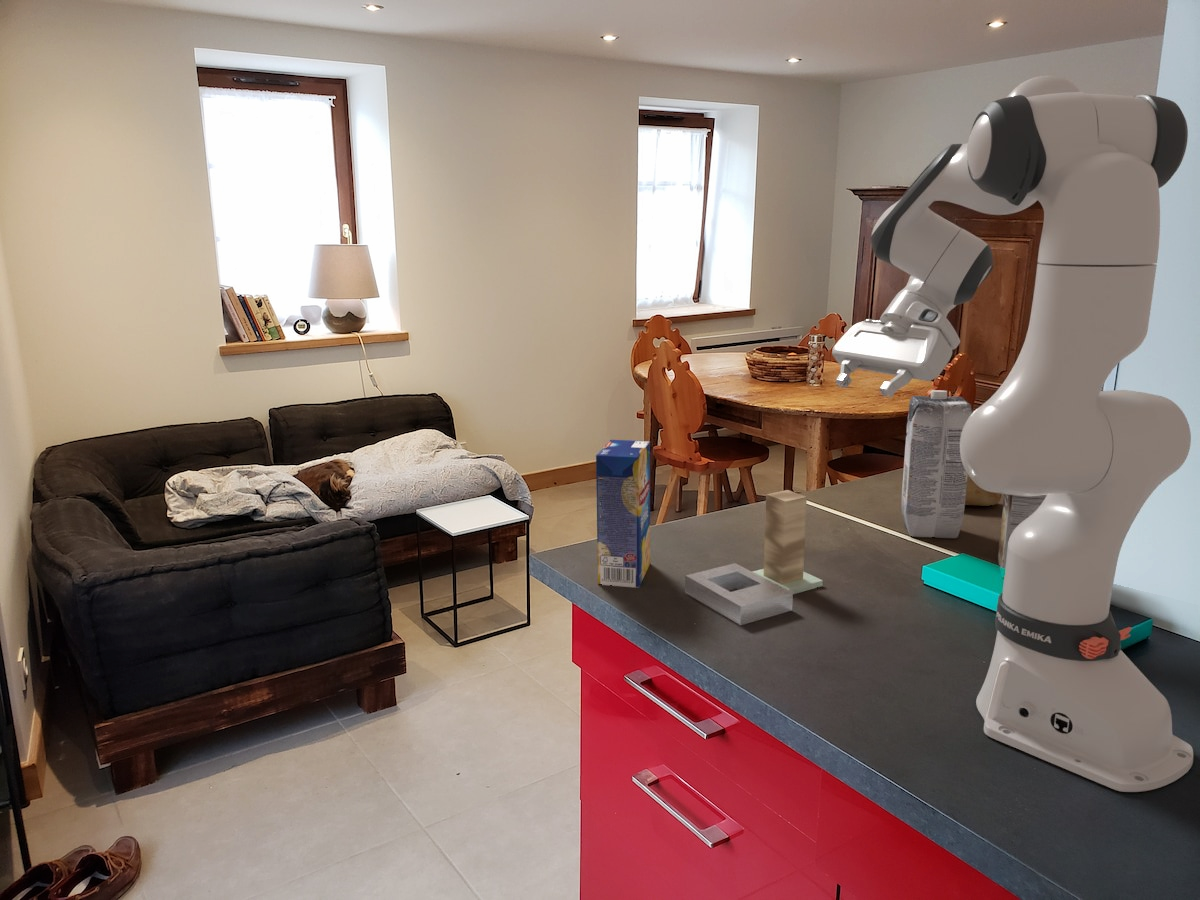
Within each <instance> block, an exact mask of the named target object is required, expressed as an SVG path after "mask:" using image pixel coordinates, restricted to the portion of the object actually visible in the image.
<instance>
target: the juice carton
mask: <svg viewBox="0 0 1200 900" xmlns="http://www.w3.org/2000/svg"><path fill="white" fill-rule="evenodd" d="M972 413H973V405H972V404H971V403H970V402H968V401H967V400H965V399H964V398H963V397H962V396H958V395H957V396H948V390H940V389H939V390H936V389H933V390H930V396H922V395H912V396H911V397H910V399H909V405H908V414H907V420H906V434H905V446H904V461H903V472H902V473H903V474H902V485H901V486H902V487H901V500H900V502H901V503H900V504H901V507H900V509H901V510H900V511H901V516H902V521H903V524H904V527H905V528H907V529H906V530H907V532H908V535H909V537H911V536H912V538H932V537H935V539H937V538H938V539H958V537H959V534H960V531H961V528H962V525H963V521H964V517H965V516H964V515H965V507H966V505H965V498H966V487H967V476H968V474H967V472H966V470H965V468H964V466H963V463H962V460H961V455H960V437H961V433H962V430H963V427H964V425H965V423H966V421H967V419H968V418H969V416H970V415H971V414H972Z"/></svg>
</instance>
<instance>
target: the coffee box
mask: <svg viewBox="0 0 1200 900" xmlns="http://www.w3.org/2000/svg"><path fill="white" fill-rule="evenodd" d="M1046 496H1047V495H1041V496H1031V497H1025V496H1016V495H1007V494H1003V503H1002V504H1003V505H1002V512H1001V513H1002V514H1001V523H1000V532H999V544H998V553H997V561H998V566H999V565H1000V567H1002V568H1005V566H1006V556H1007V547H1008V541H1009V538H1010V535H1011V534H1012V532H1013V530H1014V529H1015V528H1016V527H1017V526H1018V525H1019V524H1020V523H1021V522H1022V521H1024V520H1025V519H1026V518H1028V517H1029V516H1030V515H1032V514H1033V513H1034V512H1035V511H1036V510H1037V509H1038V507H1039V506H1040V505H1041V504H1042V502H1043V501H1044V499H1045V497H1046ZM1000 567H999V568H1000Z"/></svg>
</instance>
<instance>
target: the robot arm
mask: <svg viewBox="0 0 1200 900" xmlns="http://www.w3.org/2000/svg"><path fill="white" fill-rule="evenodd" d="M1187 122H1188V121H1187V119H1186V117H1185V115H1184V112H1183V111H1182V110H1181V108H1180V106H1179V105H1178V104H1177V103H1176V102H1175V101H1173V100H1170V99H1167V98H1164V97H1161V96H1158V95H1151V94H1142V93H1141V94H1135V95H1133V96H1132V95H1124V94H1122V95H1121V94H1112V93H1111V94H1110V93H1087V92H1084V91H1081V89H1080V88H1079V87H1077V85H1076V84H1074V83H1073V82H1071V81H1069V80H1068V79H1065V78H1064V77H1060V76H1055V75H1039V76H1035V77H1034V76H1033V77H1032V78H1029V79H1027V80H1024V81H1023V82H1020V83H1019V85H1017V86H1016V87H1015V88H1013V90H1012V91H1011V92H1009V94H1008V95H1007V96H1006V97H1003V98H999V99H996V100H994V101H991V102H989V103H987V104H986V105H985V106H984V107H983V109H982V110H981V111H980V112H979V113H978V114H977V116H976V118H975V120H974V121H973V124H972V127H971V131H970V133H969V137H968V141H967V142H966V143H952V144H950V145H948V146H947V147H945V148H944V149H943V150H942V151H940V152H939V154H937V156H935V157H934V159H933V160H932V161H931V162H930V163H929V164H928V165H926V167H925V168H924V169H923V171H921V173H920V174H919V175H918V176H917V177H916V179H915V180H914V181H913V182H912V183H911V185H910V186H909V187H908V188H907V189H906V190H905V192H904V193H903V195H901V197H900V198H899V199H898V200H897V201H896V202H895V203H893V204H892V205H890V206H889V207H888V208H887V209H885V211H884V212H883V213H882V214H881V216H879V218H878V220H877V221H876V223H875V225H874V227H873V228H872V231H871V235H870V238H869V239H870V243H871V248H872V251H873V254H874V256H875V258H876V259H879V260H881V261H882V262H885V263H887V264H889V265H891V266H893V267H896V268H898V269H900V270H901V271H903V272H905V273H907V274H908V275H909V277H908V281H907V283H906V285H905V286H904V287H903V288H902V289H901V290H900V291H898V293H896V295H895V296H894V297H893V299H892V300H891V302H890V303H889V305H888V306H887V307H886V309H885V310H884V311H883V312H882V314H881V316H880V318H879V319H872V318H865V319H864V320H863V321H862V320H861V321H859V322H857V323H855V324H852V326H851V327H850V328H849V329H848V330H847V331H845V333H844V334H843V335H842V336H841V337H840V338H839V340H837V342H836V343H835V344H834V345H833V347H832V349H831V350H832V352H831V355H832V357H833V358H834V359H835V360H836V362H837V363H838V364H839V366H840V371H839V374H838V376H837V378H836V379H835V384H836V385H837V386H838V387H840V388H844V389H847V388H848V387H849V385H851V383H852V382H853V380H852V379H851V377H850V376H851V373H854V372H855V371H856V370H862V371H863V370H864V371H868V372H873V373H874V372H875V373H880V374H885V375H890V376H891V375H892V376H894V377H893V378H891V379H890V380H889V381H884V382H883V383H882V385H881V386H880V387H879V389H878V390H879V393H880V394H881V396H883V397H887V398H892V397H893V396H894V394H895V393H896V392H897V391H898V390H899V389H901V388H903V387H905V386H906V385H908V384H909V383H910V382H911V381H912V380H913V379H914V380H918V381H924V382H930V381H933V380H935V379H936V378H938V377H939V376H940V374H941V373H942V372H943V370H944V369H945V368H946V366H947V365H948V363H949V362H950V359H951V357H952V355H953V350H955V349H956V348H958V347H959V345H960V343H961V339H960V337H959V335H958V333H957V331H956V329H955V328H954V326H953V325H952V323H951V322H950V320H948V318H947V317H948V314H949V313H950V312H951V310H953V309H954V308H955V307H956V306H958V305H961V304H965V303H968V302H971V300H972V299H973V298H974V296H975V294H976V292H977V290H978V288H979V287H980V286H981V285H982V284H983V283H984V282H985V280H986V279H987V278H988V276H989V275H990V274H991V272H992V270H993V268H994V256H993V251H992V248H991V245H990V244H988V243H987V242H986V241H984V240H983V239H981V238H980V237H979V236H976V235H974V234H973V233H972V232H970V231H968V230H966V229H964V228H963V227H960V226H958V225H956V224H955V223H953V222H952V221H949V220H947V219H946V218H944V217H943V216H941V215H939V214H938V213H936V212H934V211H933V210H931V209H930V208H929V207H930V206H931V205H932V204H933V203H934V202H937V201H939V202H940V201H941V202H947V203H952V204H954V205H955V204H956V205H958V206H960V207H961V206H962V207H964V208H966V209H970V210H973V211H976V212H978V213H981V214H985V215H986V214H987V215H991V216H992V215H994V216H1002V215H1004V216H1005V215H1011V214H1015V213H1018V212H1021V211H1023V210H1025V209H1027V208H1029V207H1031V206H1032V205H1034V204H1035V203H1036V202H1037V201H1038V202H1039V203H1040V205H1041V206H1042V209H1043V225H1042V229H1041V235H1040V240H1039V241H1040V242H1039V247H1038V255H1037V264H1036V271H1035V272H1036V274H1035V281H1034V288H1033V298H1032V304H1031V309H1030V311H1031V312H1030V317H1029V323H1028V329H1027V331H1026V335H1025V339H1024V342H1023V345H1022V347H1021V350H1020V352H1019V355H1018V357H1017V359H1016V361H1015V363H1014V365H1013V366H1012V368H1011V370H1010V371H1009V373H1008V375H1007V377H1006V378H1005V379H1004V381H1003V382H1002V384H1001V385H1000V387H998V389H997V390H996V391H995V392H994V393H993V394H992V395H991V397H990V398H989V399H987V400H986V401H985V402H984V403H983V404H981V405H980V406H979V407H978V408H976V409H975V410H974V411H972V414H971V415H970V416H969V418H968V419H967V421H966V423H965V425H964V427H963V430H962V433H961V437H960V455H961V460H962V463H963V466H964V468H965V470H966V472H967V474H968V475H969V477H970V478H971V479H972V480H973V482H974V483H975V484H976V485H977V486H979V487H980V488H982V489H983V490H986V491H989V492H994V493H1001V494H1002V495H1004V494H1007V495H1016V496H1025V497H1031V496H1041V495H1047V496H1046V497H1045V499H1044V501H1043V502H1042V504H1041V505H1040V506H1039V507H1038V509H1037V510H1036V511H1035V512H1034V513H1033V514H1032V515H1030V516H1029V517H1028V518H1026V519H1025V520H1024V521H1022V522H1021V523H1020V524H1019V525H1018V526H1017V527H1016V528H1015V529H1014V530H1013V532H1012V534H1011V535H1010V538H1009V541H1008V547H1007V556H1006V566H1005V575H1004V578H1003V586H1002V592H1001V593H1000V594H999V595H998V598H997V605H996V606H997V607H996V612H995V620H994V625H995V631H996V632H995V633H996V636H995V637H996V638H995V641H994V642H995V644H994V648H993V652H992V657H991V659H990V660H991V661H990V663H989V667H988V670H987V673H986V677H985V679H984V682H983V684H982V686H981V688H980V691H978V695H977V697H976V699H975V700H976V701H975V703H976V704H975V706H976V708H977V710H978V712H979V714H980V715H981V717H982V719H983V721H984V722H983V733H984V734H985V735H986V736H987V737H989V738H991V739H994V740H995V741H998V742H1000V743H1003V744H1005V745H1008V746H1009V747H1013V748H1014V749H1015V748H1016V749H1018V750H1020V751H1022V752H1024V753H1026V754H1029V755H1031V756H1034V757H1036V758H1038V759H1041V760H1042V761H1045V762H1048V763H1050V764H1052V765H1054V766H1057V767H1060V768H1062V769H1065V770H1067V771H1069V772H1071V773H1074V774H1076V775H1079V776H1081V777H1083V778H1086V779H1088V780H1091V781H1093V782H1095V783H1097V784H1100V785H1102V786H1105V787H1107V788H1110V789H1112V790H1114V791H1118V792H1122V793H1124V792H1125V793H1139V792H1147V791H1152V790H1156V789H1159V788H1162V787H1165V786H1167V785H1169V784H1172V783H1174V782H1176V781H1177V780H1178V779H1180V778H1182V777H1183V776H1184V775H1185V774H1187V773H1189V770H1190V769H1191V768H1192V767H1193V764H1194V750H1193V746H1191V744H1189V743H1188V742H1186V741H1185V740H1183V739H1182V738H1179V737H1178V736H1176V735H1174V734H1173V721H1172V719H1173V718H1172V717H1173V716H1172V713H1171V712H1172V711H1171V707H1170V704H1169V701H1168V700H1167V698H1166V697H1165V695H1163V693H1161V692H1160V690H1159V689H1157V687H1156V686H1155V685H1153V683H1152V682H1151V681H1150V680H1149V679H1148V678H1147V676H1145V675H1144V673H1143V672H1142V671H1141V670H1140V669H1139V668H1138V667H1137V665H1135V664H1134V663H1133V661H1131V659H1130V658H1129V657H1128V656H1127V655H1126V654H1125V653H1124V652H1123V650H1121V649H1122V644H1121V641H1123V640H1126V639H1127V638H1130V637H1131V634H1130V632H1131V631H1132V627H1131V626H1128V627H1125V628H1123V629H1120V630H1118V628H1117V625H1116V624H1115V620H1114V617H1113V615H1112V612H1111V611H1110V607H1111V600H1112V595H1113V587H1114V582H1115V576H1116V570H1117V566H1118V561H1119V556H1120V553H1121V550H1122V547H1123V544H1124V542H1125V539H1126V537H1127V534H1128V533H1129V531H1130V528H1131V526H1132V525H1133V523H1134V521H1135V520H1136V518H1137V516H1138V514H1139V512H1141V509H1142V508H1143V506H1144V505H1145V503H1146V502H1147V500H1148V499H1149V498H1150V497H1151V495H1152V494H1153V493H1154V492H1155V490H1156V489H1157V488H1158V487H1159V486H1160V485H1161V484H1162V483H1163V482H1164V481H1166V480H1167V479H1168V478H1169V477H1170V476H1171V475H1173V474H1175V473H1176V472H1177V471H1178V470H1180V468H1181V467H1182V466H1183V465H1184V463H1185V462H1186V460H1187V458H1188V456H1189V452H1190V450H1191V443H1192V436H1191V433H1192V432H1191V428H1190V425H1189V422H1188V419H1187V417H1186V415H1185V413H1184V412H1183V410H1182V409H1181V407H1180V406H1178V404H1176V403H1175V402H1174V401H1173V400H1171V399H1169V398H1167V397H1166V396H1162V395H1158V394H1153V393H1147V392H1142V391H1135V390H1128V389H1115V390H1114V389H1113V390H1102V388H1103V387H1104V384H1105V382H1106V381H1107V379H1108V378H1109V375H1111V373H1112V371H1114V369H1115V368H1116V367H1117V366H1118V365H1119V363H1121V362H1122V361H1123V360H1124V359H1125V358H1127V357H1128V356H1130V355H1131V354H1132V353H1134V352H1136V350H1138V348H1139V347H1140V346H1141V345H1142V344H1143V343H1144V341H1145V339H1146V337H1147V334H1148V330H1149V323H1150V316H1151V309H1152V301H1153V295H1154V288H1155V280H1156V273H1157V264H1158V258H1159V257H1158V256H1159V250H1160V237H1161V236H1160V233H1161V204H1160V199H1161V198H1160V190H1159V189H1160V188H1162V187H1164V186H1165V185H1166V184H1167V183H1168V182H1169V181H1170V180H1171V179H1172V177H1173V176H1174V175H1175V173H1176V172H1177V171H1178V169H1179V168H1180V166H1181V164H1182V161H1183V160H1184V157H1185V154H1186V150H1187V146H1188V138H1189V137H1188V136H1189V134H1188V133H1189V131H1188V124H1187Z"/></svg>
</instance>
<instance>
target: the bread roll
mask: <svg viewBox="0 0 1200 900" xmlns="http://www.w3.org/2000/svg"><path fill="white" fill-rule="evenodd" d="M1002 495H1003V494H1001V493H994V492H989V491H986V490H983V489H982V488H980V487H979V486H977V485H976V484H975V483H974V482H973V480H972V479H971V478H970V477H969V475H968V476H967V487H966V498H965V506H982V507H983V506H984V507H985V506H986V507H989V506H990V505H992V506H994V505H997V504H998V503H999V502H1000V501H1001V499H1002V497H1003V496H1002ZM990 507H991V506H990Z"/></svg>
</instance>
